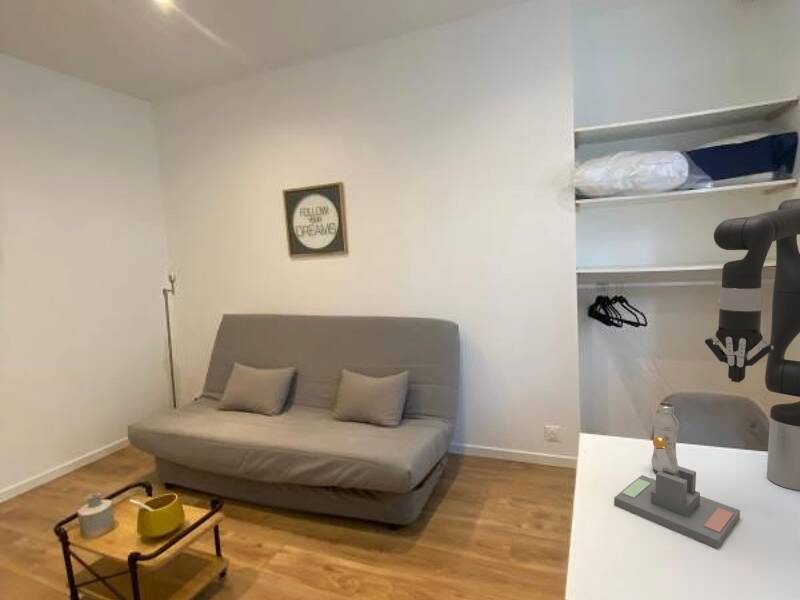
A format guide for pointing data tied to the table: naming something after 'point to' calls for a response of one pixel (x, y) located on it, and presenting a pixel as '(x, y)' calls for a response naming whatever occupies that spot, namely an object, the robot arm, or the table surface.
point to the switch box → (679, 506)
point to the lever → (665, 456)
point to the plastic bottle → (665, 431)
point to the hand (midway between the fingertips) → (736, 381)
